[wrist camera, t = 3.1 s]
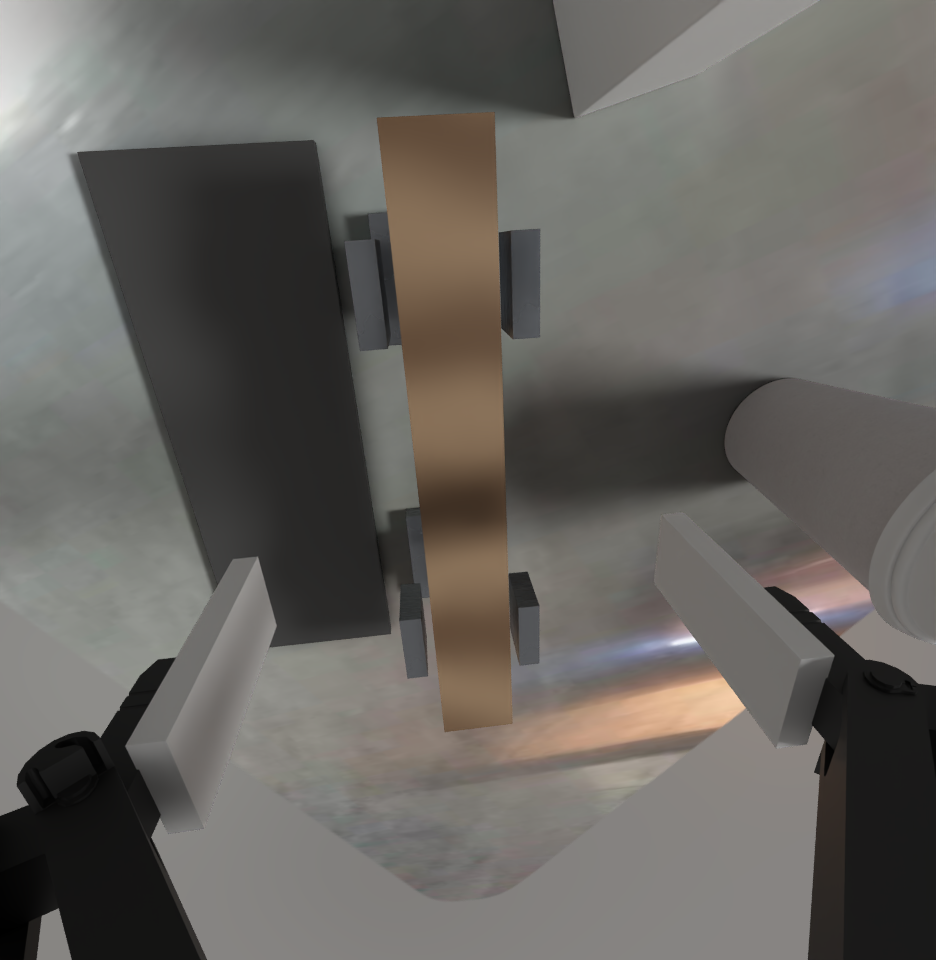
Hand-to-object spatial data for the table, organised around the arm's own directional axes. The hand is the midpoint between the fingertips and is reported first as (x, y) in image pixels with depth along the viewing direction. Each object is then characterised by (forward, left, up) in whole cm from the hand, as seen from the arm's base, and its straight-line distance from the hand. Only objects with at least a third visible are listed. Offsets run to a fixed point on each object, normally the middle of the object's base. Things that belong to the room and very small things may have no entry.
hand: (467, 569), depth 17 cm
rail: (0, 0, -8) cm, 8 cm away
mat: (0, -10, -14) cm, 17 cm away
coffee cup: (+2, +20, -14) cm, 25 cm away
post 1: (-8, 0, -14) cm, 16 cm away
